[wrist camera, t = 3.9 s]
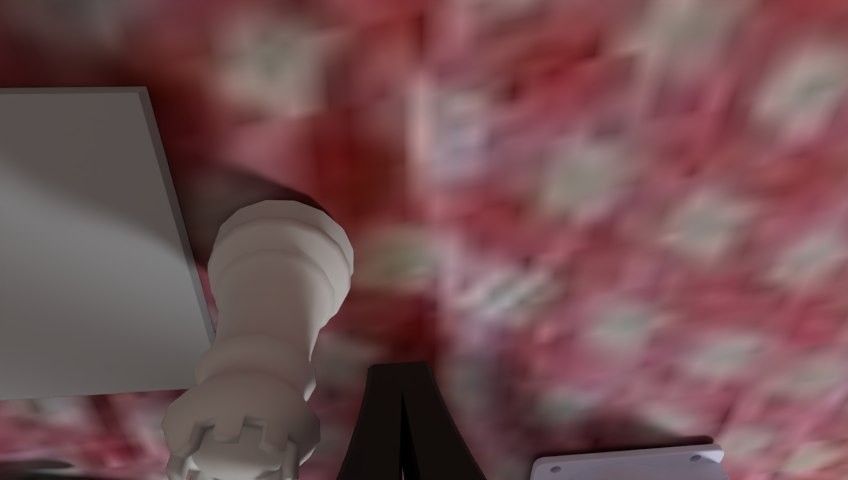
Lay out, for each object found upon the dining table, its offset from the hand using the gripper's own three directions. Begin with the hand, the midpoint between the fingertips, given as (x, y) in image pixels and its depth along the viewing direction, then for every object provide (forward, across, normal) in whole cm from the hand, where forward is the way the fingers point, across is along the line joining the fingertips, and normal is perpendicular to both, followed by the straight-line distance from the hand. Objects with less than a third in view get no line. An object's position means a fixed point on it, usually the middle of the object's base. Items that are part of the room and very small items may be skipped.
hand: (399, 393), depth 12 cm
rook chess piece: (+6, +3, 0) cm, 7 cm away
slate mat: (+6, +13, 0) cm, 15 cm away
